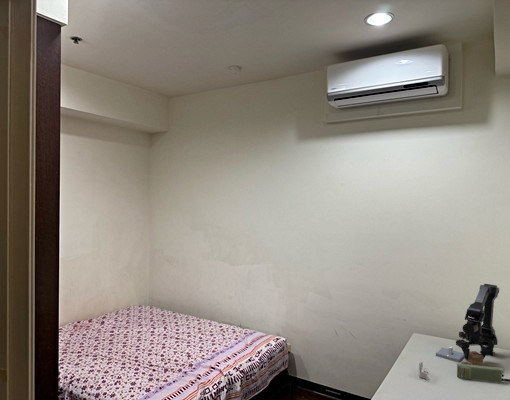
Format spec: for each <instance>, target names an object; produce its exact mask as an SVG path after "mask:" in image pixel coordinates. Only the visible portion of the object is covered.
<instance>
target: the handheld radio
mask: <svg viewBox="0 0 510 400" xmlns="http://www.w3.org/2000/svg"><path fill="white" fill-rule="evenodd" d="M504 370H505V369H504V368H502V367H497V366H495V367H494V366H485V365H472V364H465V363H457V366H456V376H457V378H458V379H464V380H472V381H473V380H474V381H481V382H482V381H483V382H491V383H499V384H500V383H503V382H505V383H506V382H507V383H510V378H504V377H505V375H504V374H503V373H504V372H505V371H504Z"/></svg>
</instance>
